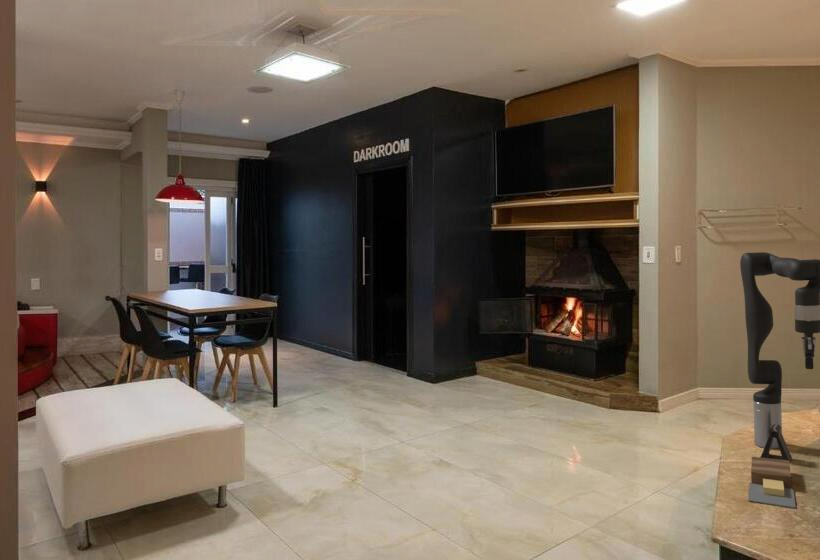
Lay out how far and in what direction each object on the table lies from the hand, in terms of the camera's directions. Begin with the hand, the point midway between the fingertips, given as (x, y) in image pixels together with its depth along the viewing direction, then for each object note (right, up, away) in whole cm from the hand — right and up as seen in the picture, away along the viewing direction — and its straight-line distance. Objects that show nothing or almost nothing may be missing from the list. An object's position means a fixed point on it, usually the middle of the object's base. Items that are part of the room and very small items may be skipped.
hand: (809, 368), depth 199 cm
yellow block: (-21, -36, -15) cm, 45 cm away
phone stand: (-3, -35, +13) cm, 38 cm away
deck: (-16, -36, -4) cm, 39 cm away
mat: (-24, -37, -18) cm, 47 cm away
